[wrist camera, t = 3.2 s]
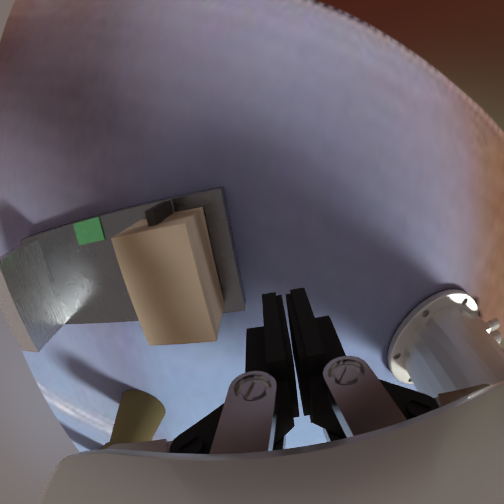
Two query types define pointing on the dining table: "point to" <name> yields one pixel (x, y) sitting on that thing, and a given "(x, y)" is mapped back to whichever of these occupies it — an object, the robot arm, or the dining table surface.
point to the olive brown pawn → (136, 418)
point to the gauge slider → (171, 275)
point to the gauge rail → (97, 270)
